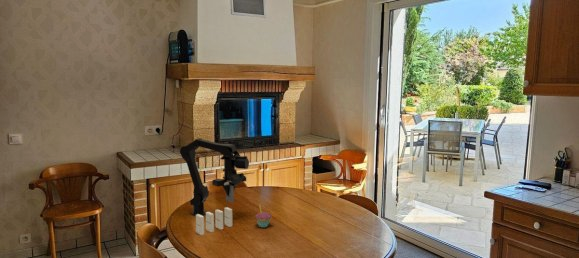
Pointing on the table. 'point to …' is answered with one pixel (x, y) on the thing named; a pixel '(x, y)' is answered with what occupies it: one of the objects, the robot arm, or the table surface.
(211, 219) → the domino
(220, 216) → the domino
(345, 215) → the table surface
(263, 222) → the cupcake
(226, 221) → the domino
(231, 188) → the grey domino block
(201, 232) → the domino
